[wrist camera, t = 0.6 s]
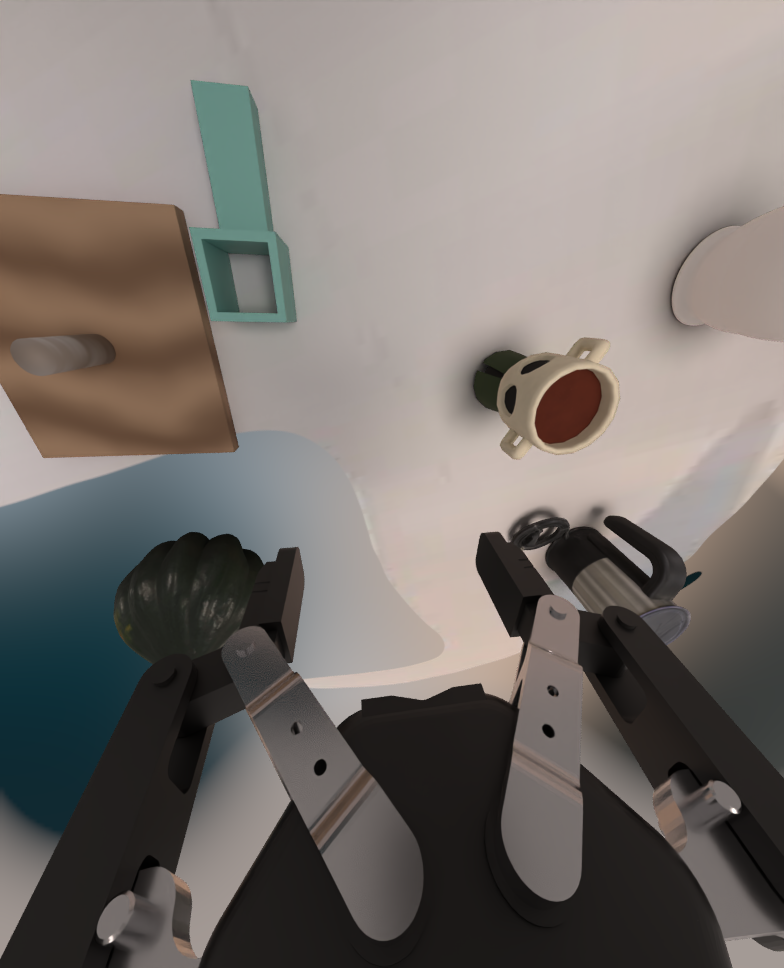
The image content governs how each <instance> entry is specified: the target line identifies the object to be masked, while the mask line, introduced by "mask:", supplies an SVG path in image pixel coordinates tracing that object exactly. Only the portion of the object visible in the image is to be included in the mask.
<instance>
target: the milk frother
mask: <svg viewBox="0 0 784 968" xmlns="http://www.w3.org/2000/svg"><path fill="white" fill-rule="evenodd" d="M604 524H605V526H606V527H607V528H609V529H610V530H611V531H613V532H614V533H615V534H617V535H618V536H619V537H621V538H622V539H623V540H625V541H626V542H627V543H629V544H630V545H631V546H633V547H634V548H635V549H637V550H638V551H639V552H641V553H642V554H644V555H645V556H646V557H647V558H648V559H649V560H650V561H651V563H652V566H653V574H652V576H651V578H650V577H649V576H648V575H646V574H645V573H644V572H643V571H642V570H641V569H640V568H639V567H638V566H636V565H635V564H634V563H633V562H632V561H631V560H629V559H628V558H627V557H626V556H625V555H624V554H623V553H622V552H621V551H619V550H618V549H617V548H616V547H615V546H614V545H613V544H612V543H611V542H610V541H608V540H607V539H606V538H605V537H604V536H602V535H601V534H600V533H599V532H598V531H597V530H595V529H593V528H589V527H581V528H576V529H572V530H571V531H569V528H570V527H569V526H570V525H569V523H568V521H567V520H566V519H563V518H550V519H545V520H541V521H538V522H536V523H533V524H531V525H529V526H526V527H525V528H523V529H521V530H520V531H519V532H517V533H516V534H515V536H514V537H513V540H512V543H513V544H515V545H516V546H517V547H519V548H520V549H521V550H522V551H523V550H533V549H537V548H540V547H543V546H545V545H547V544H549V543H551V542H553V541H554V540H555V541H554V542H553V544H552V545H551V546H550V548H549V549H548V552H547V554H546V562H547V565H548V566H549V567H550V568H551V569H552V570H553V571H555V572H556V573H557V575H558V576H559V577H560V578H561V579H562V580H563V582H564V583H565V584H566V585H567V586H568V588H569V589H570V590H571V591H572V593H573V594H574V595H575V596H576V597H577V599H578V600H579V601H580V603H581V604H582V605H583V606H584V608H585V609H586V610H587V611H588V612H592V613H598V614H602V612H603V610H604V609H605V608H606V607H608V606H621V607H624V608H627V609H629V610H631V611H633V612H634V613H636V614H637V615H639V616H640V617H641V618H642V619H643V620H644V621H645V622H646V623H647V624H648V625H649V626H650V628H651V629H652V630H653V631H654V632H655V633H656V634H657V636H658V637H659V638H660V639H661V640H662V641H663V642H664V643H665V645H668V644H669V643H671V642H673V641H674V640H675V639H676V638H677V637H679V636H680V635H681V634H682V633H683V632H684V631H685V629H686V628H687V627H688V626H689V622H690V619H691V615H690V613H689V611H688V610H687V609H685V608H683V607H679V606H677V605H676V604H675V603H674V602H673V601H672V600H673V598H674V597H675V596H676V595H677V594H678V592H679V591H680V590H681V589H682V587H683V586H684V584H685V581H686V567H685V564H684V562H683V560H682V558H681V557H680V555H679V554H678V553H677V552H676V551H675V550H674V549H673V548H671V547H670V546H668V545H667V544H665V543H664V542H662V541H660V540H659V539H657V538H656V537H654V536H653V535H651V534H650V533H648V532H646V531H645V530H643V529H642V528H640V527H638V526H637V525H635V524H634V523H632V522H631V521H629V520H627V519H626V518H624V517H620V516H608V517H606V518H605V520H604ZM554 526H556V527H558V528H557V530H556V531H555V532H554V533H553V534H551V535H550V536H548V537H546V538H544V539H542V540H539V541H537V540H538V538H539V536H540V533H541V532H543V529H544V528H547V527H554Z"/></svg>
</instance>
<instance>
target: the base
mask: <svg viewBox="0 0 784 968" xmlns="http://www.w3.org/2000/svg"><path fill="white" fill-rule="evenodd" d="M0 384H1V385H2V387H3V389H4V390H5V392H6V394H7V396H8V397H9V399H10V401H11V403H12V404H13V406H14V408H15V410H16V411H17V413H18V415H19V417H20V418H21V420H22V422H23V423H24V425H25V427H26V429H27V430H28V432H29V434H30V436H31V437H32V439H33V441H34V443H35V444H36V446H37V448H38V450H39V451H40V453H41V455H42V457H43V458H57V457H90V456H123V455H156V454H189V453H222V452H235V451H236V450H237V448H238V447H239V446H238V441H237V437H236V433H235V429H234V424H233V420H232V416H231V412H230V407H229V403H228V399H227V395H226V390H225V386H224V382H223V378H222V374H221V369H220V365H219V361H218V357H217V352H216V348H215V344H214V340H213V336H212V331H211V327H210V323H209V319H208V314H207V310H206V306H205V302H204V297H203V293H202V289H201V285H200V281H199V276H198V272H197V268H196V264H195V259H194V255H193V251H192V247H191V242H190V238H189V234H188V230H187V226H186V221H185V217H184V213H183V211H182V210H181V209H179V208H178V207H176V206H175V205H167V204H151V203H135V202H119V201H103V200H86V199H70V198H54V197H38V196H22V195H5V194H0Z"/></svg>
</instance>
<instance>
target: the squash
mask: <svg viewBox="0 0 784 968" xmlns="http://www.w3.org/2000/svg"><path fill="white" fill-rule="evenodd" d="M263 566H264V565H263V563H262V560H261V559H260V557H259V556H258V555H257V554H256V553H255V552H253V551H251V550H247V549H242V546H241V544H240V541H239V540H238V538H237V537H235V536H233V535H231V534H223V535H218V536H216V537H214V538H212V539H210V540H209V539H208V538H207V537H206V536H205V535H203V534H201V533H198V532H189V533H187V534H185V535H183V536H182V537H180V538H179V539H178V540H177V541H168V542H164V543H161V544H159V545H157V546H156V547H154V549H152V550H151V551H150V552H149V553H148V554H147V555H146V557H144V559H143V560H142V561H141V562H140V563H139V564H138V565H137V566H136V567H135V568H134V569H133V570H132V571H131V572H130V573H129V574H128V575H127V576H126V577H125V579H124V580H123V581H122V582H121V584H120V585H119V587H118V589H117V593H116V596H115V602H114V620H115V624H116V627H117V630H118V632H119V634H120V636H121V638H122V639H123V640H124V642H125V643H126V644H127V645H128V646H129V647H130V648H131V649H132V650H133V651H135V652H136V653H137V654H139V655H140V656H141V657H143V658H144V659H146V660H147V661H149V662H150V663H152V664H154V663H156V662H157V661H159V660H160V659H162V658H164V657H166V656H169V655H172V654H185V655H187V656H189V657H190V658H191V660H193V659H195V658H198V657H200V656H203V655H205V654H208V653H211V652H213V651H215V650H218V649H219V648H221V647H223V646H224V644H225V642H226V641H227V640H228V639H229V637H230V636H232V635H233V634H234V633H235V632H237V631H238V630H239V627H240V625H241V622H242V619H243V616H244V613H245V610H246V607H247V604H248V601H249V598H250V595H251V594H252V589H253V586H254V585H255V580H256V577H257V574H258V572H259V571H260V569H261V568H262V567H263Z"/></svg>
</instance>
